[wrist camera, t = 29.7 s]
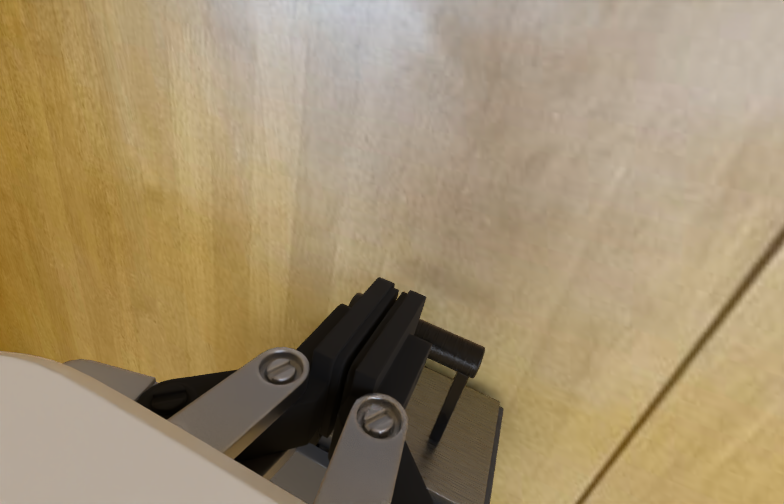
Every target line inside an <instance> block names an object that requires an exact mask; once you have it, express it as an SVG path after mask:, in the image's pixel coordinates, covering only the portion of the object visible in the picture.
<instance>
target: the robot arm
mask: <svg viewBox="0 0 784 504" xmlns="http://www.w3.org/2000/svg"><path fill="white" fill-rule="evenodd" d="M394 285H395V284H394V283H392V282H390V281H387V280H385V279H382V278H380V277H379V278H377V279H376V281H375V282H374V283H373V284H372V285H371V286H370V287H369V288H368V290H367V291H366V292H365V293H364V294H363V295H362V296H361V297H360V299H359V300H358V301H357V302H356V303H355V304H354V305H353V306H352V308H351V307H349V306H346V305H344V304H340V305H339V306H338V307H337V308H336V309H335V310H334V311H333V312H332V313H331V314H330V315H329V316H328V317H327V318H326V319H325V320H324V321H323V322H322V323H321V324H320V325H319V327H318V328H317V329H316V330H315V331H314V332H313V333H312V334H311V335H310V336H309V337H308V338H307V339H306V340H305V341H304V342H303V343H302V344H301V345H300V346H299V347H298V348H297V349H296V350H295V349H292V348H287V347H277V348H273V349H269V350H267V351H265V352H263V353H261V354H260V355H258V356H257V357H256V358H254V359H253V360H251V361H250V362H248V363H247V364H246V365H244V366H243V367H241V368H240V369H238V370H233V371H226V372H219V373H212V374H205V375H199V376H192V377H185V378H178V379H171V380H167V381H163V382H160V383H157V382H156V379H155V377H151V376H147V375H143V374H140V373H136V372H132V371H129V370H125V369H121V368H118V367H114V366H110V365H107V364H103V363H99V362H96V361H92V360H84V359H79V360H71V361H67V362H65V363H59V362H56V361H54V360H50V359H46V358H42V357H38V356H34V355H29V354H21V353H13V352H4V351H0V504H307V503H305V502H303V501H302V500H300V499H298V498H297V497H295V496H293V495H292V494H290V493H288V492H287V491H285V490H283V489H282V488H280V487H278V486H277V485H275V484H273V483H272V482H270V481H269V480H270V479H271V478H272V477H273V476H274V475H275V474H276V473H277V472H278V471H279V470H280V469H281V467H282V466H283V465H284V464H285V463H286V462H287V461H288V460H289V459H290V458H291V457H292V455H293V454H294V452H295V451H296V448H297V447H301V446H305V445H308V443H311V444H313V445H315V446H316V445H317V443H318V442H319V440H320V439H321V437H322V436H324V437H326V438H328V437H329V436H330V435H331V433H332V431H333V430H334V432H333V436H332V440H331V444H330V449H329V453H328V459H329V465H328V468H327V470H326V473H325V475H324V478H323V480H322V483H321V485H320V488H319V490H318V493H317V495H316V498H315V500H314V503H313V504H434V503H433V500H432V498H431V496H430V494H429V491H428V489H427V487H426V485H425V483H424V480H423V478H422V476H421V474H420V472H419V469H418V467H417V465H416V463H415V461H414V458H413V456H412V454H411V452H410V450H409V447H408V445H407V443H406V441H405V437H406V433H407V428H408V417H407V414H406V411H405V409H406V407H407V405H408V402H409V400H410V398H411V396H412V394H413V391H414V389H415V387H416V385H417V382H418V380H419V378H420V375H421V373H422V370H423V368H424V365H425V363H426V360H427V357H428V354H429V352H430V349H431V346H432V343H429V342H427V341H425V340H423V339H420V338H418V337H416V336H414V333H415V330H416V327H417V324H418V321H419V318H420V315H421V312H422V309H423V306H424V303H425V300H426V296H423V295H421V294H418V293H416V292H414V291H411V290H410V291H409V293H408V294H407V293H405V292H402V293H401V295H400V296H399V298H398V299H397V296H398V292H399V290H397V289H395V288H394ZM396 299H397V300H396Z"/></svg>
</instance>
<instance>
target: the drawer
mask: <svg viewBox="0 0 784 504" xmlns="http://www.w3.org/2000/svg"><path fill="white" fill-rule="evenodd" d="M362 295H363V294H361V293H357V294H356V295H355V296H354V297H353V298H352V300H351V302H350V304H349V307H351V308H352V306H353V305H354V304H355V303H356V302H357V301H358V300H359V299H360V297H361V296H362ZM414 336H416V337H418V338H420V339H423V340H425V341H427V342H429V343H432V346H431V349H430V352H429V354H428V357H427V358H429V359H431V360H433V361H435V362H438V363H440V364H442V365H444V366H446V367H449V368H451V369H453V370H455V371H457V372H456V375H455V377H454V379H453V380H452V379H450V378H448V377H446V376H443V375H441V374H439V373H437V372H435V371H433V370H430V369H428V368H426V367H424V368H423V370H422V373H421V375H420V378H419V380H418V382H417V385H416V387H415V389H414V391H413V394H412V396H411V398H410V400H409V402H408V405H407V407H406V409H405V411H406V414H407V417H408V428H407V433H406V437H405V441H406V443H407V445H408V447H409V450H410V452H411V454H412V456H413V458H414V461H415V463H416V465H417V467H418V469H419V472H420V474H421V476H422V478H423V480H424V483H425V485H426V487H427V489H428V491H429V494H430V496H431V498H432V500H433V503H434V504H484V499H485V492H486V486H487V480H488V474H489V467H490V461H491V455H492V448H493V442H494V436H495V430H496V423H497V417H498V411H499V405H500V402H499V401H497V400H495V399H493V398H491V397H489V396H486V395H484V394H482V393H480V392H478V391H476V390H473V389H471V388H469V387H467V386H465V385H466V382H467V380H468V378H469V377H470V378H474V377H475V376H476V374H477V371H478V369H479V367H480V364H481V362H482V359H483V356H484V352H485V348H484V347H483V346H481V345H478V344H476V343H474V342H471V341H469V340H467V339H465V338H462V337H460V336H458V335H455V334H453V333H451V332H448V331H446V330H444V329H442V328H439V327H437V326H435V325H432V324H430V323H428V322H425V321H423V320H421V319H419V321H418V324H417V327H416V330H415V333H414ZM333 432H334V430H333V431H332V433H331V435H330V436H329V437H328V438H326V437H324V436H322V437H321V439H320V440H319V442H318V443H317V445H316V446H317V447H319V444H320V445H321V446H323V447H325V448H327V449H330V444H331V440H332V436H333Z"/></svg>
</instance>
